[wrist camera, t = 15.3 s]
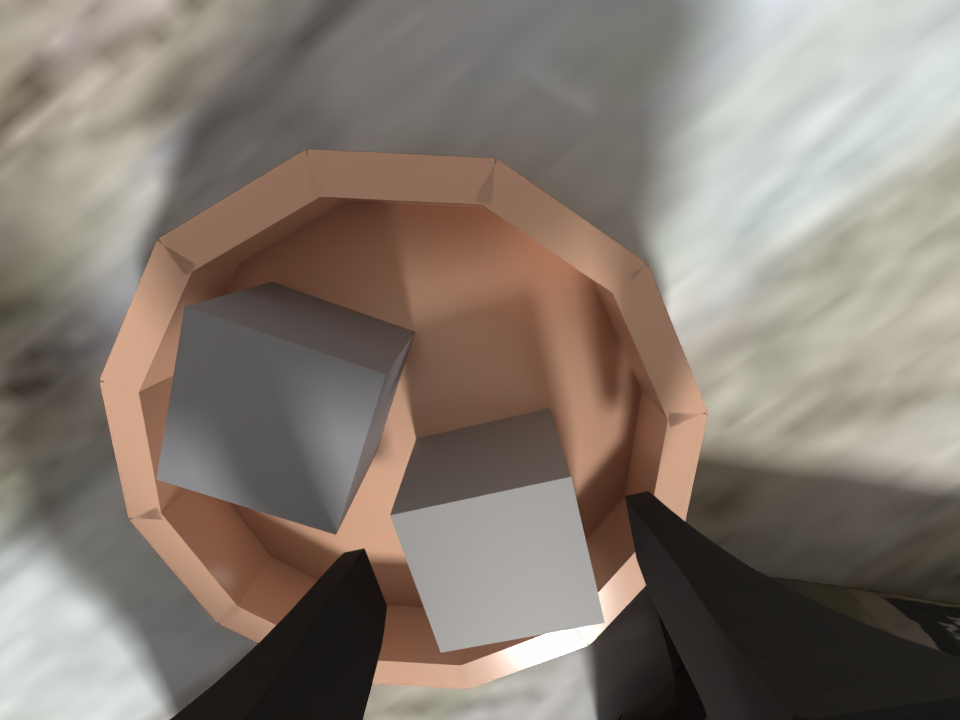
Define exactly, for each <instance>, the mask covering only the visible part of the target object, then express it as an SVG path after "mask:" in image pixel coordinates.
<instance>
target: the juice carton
mask: <svg viewBox="0 0 960 720" xmlns="http://www.w3.org/2000/svg"><path fill="white" fill-rule="evenodd" d="M770 579H772V580H774V581H776V582H777V583H779V584H781V585H783V586H785V587H787V588H789V589H791V590H793V591H795V592H796V593H798V594H801V595H803V596H805V597H807V598H809V599H811V600H813V601H815V602H817V603H819V604H822V605H824V606H826V607H828V608H830V609H832V610H835V611H837V612H839V613H841V614H844V615H846V616H848V617H851V618H853V619H855V620H858V621H860V622H863V623H865V624H868V625H870V626H873V627H875V628H878V629H880V630H883V631H885V632H888V633H890V634H893V635H896V636H898V637H901V638H904V639H907V640H910V641H913V642H916V643H919V644H922V645H925V646H928V647H931V648H934V649H936V650H939V651H942V652H945V653H948V654H951V655H954V656H957V657H960V605H959V604H950V603H941V602H934V601H928V600H923V599H918V598H911V597H905V596H901V595H896V594H890V593H881V592H872V591H866V590H859V589H852V588H846V587H839V586H832V585H823V584H817V583H809V582H804V581H801V580H789V579H777V578H770ZM657 612H658V611H657ZM658 616H659V620H660V623H661V627H662V630H663V634H664V638H665V642H666V645H667V649H668V653H669V656H670V660H671V664H672V667H673V671H674V675H675V683H676V691H677V699H678V707H679V715H680V720H709V717H708V715H707V712H706V710H705V707H704V705H703V703H702V701H701V699H700V696H699V694H698V692H697V690H696V688H695V685H694V683H693V681H692V679H691V677H690V675H689V673H688V671H687V669H686V667H685V665H684V663H683V661H682V659H681V657H680V655H679V653H678V651H677V649H676V647H675V645H674V643H673V641H672V639H671V637H670V635H669V633H668V631H667V629H666V627H665V625H664V623H663V621H662V619H661V617H660V615H659V613H658ZM621 717H622V714H621V716H620V718H619V720H621Z"/></svg>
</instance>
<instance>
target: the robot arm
mask: <svg viewBox="0 0 960 720" xmlns="http://www.w3.org/2000/svg"><path fill="white" fill-rule="evenodd" d="M625 500H626V506H627V511H628V516H629V522H630V527H631V532H632V537H633V543H634V548H635V553H636V559H637V562H638V565H639V567H640V570H641V573H642V575H643V578H644V581H645V584H646V586H647V589H648V592H649V594H650V597H651V599H652V601H653V603H654V605H655V607H656V609H657V611H658V613H659V615H660V617H661V619H662V621H663V623H664V625H665V627H666V629H667V631H668V633H669V635H670V637H671V639H672V641H673V643H674V645H675V647H676V649H677V651H678V653H679V655H680V657H681V659H682V661H683V663H684V665H685V667H686V669H687V671H688V673H689V675H690V677H691V679H692V681H693V683H694V685H695V688H696V690H697V692H698V694H699V696H700V699H701V701H702V703H703V705H704V707H705V710H706V712H707V715H708V717H709V720H960V657H957V656H954V655H951V654H948V653H945V652H942V651H939V650H936V649H934V648H931V647H928V646H925V645H922V644H919V643H916V642H913V641H910V640H907V639H904V638H901V637H898V636H896V635H893V634H890V633H888V632H885V631H883V630H880V629H878V628H875V627H873V626H870V625H868V624H865V623H863V622H860V621H858V620H855V619H853V618H851V617H848V616H846V615H844V614H841V613H839V612H837V611H835V610H832V609H830V608H828V607H826V606H824V605H822V604H819V603H817V602H815V601H813V600H811V599H809V598H807V597H805V596H803V595H801V594H798V593H796V592H795V591H793V590H791V589H789V588H787V587H785V586H783V585H781V584H779V583H777V582H776V581H774V580H772V579H770V578H768V577H767V576H765V575H763V574H761V573H760V572H758V571H756V570H754V569H753V568H751V567H750V566H748V565H746V564H745V563H743V562H742V561H740V560H738V559H737V558H735V557H734V556H732V555H731V554H729V553H728V552H726V551H725V550H723V549H722V548H720V547H719V546H718V545H716V544H715V543H713V542H712V541H711V540H709V539H708V538H706V537H705V536H704V535H702V534H701V533H700V532H698V531H697V530H696V529H694V528H693V527H692V526H690V525H689V524H688V523H687V522H685V521H684V520H683V519H682V518H680V517H679V516H678V515H677V514H675V513H674V512H673V511H672V510H671V509H669V508H668V507H667V506H666V505H665V504H663V503H662V502H661V501H660V500H659V499H658V498H657V497H655V496H654V495H653V494H652V493H650V492H649V491H647V492H642V493H637V494H632V495H627V496H625ZM386 612H387V604H386V602H385V599H384V597H383V594H382V592H381V589H380V587H379V584H378V581H377V579H376V576H375V574H374V571H373V569H372V566H371V563H370V561H369V558H368V556H367V553H366V551H365V548H364V549H359V550H354V551H349V552H344V553H343V554H342V555H341V556H340V557H339V558H338V559H337V560H336V561H335V562H334V563H333V564H332V565H331V566H330V567H329V568H328V570H327V571H326V572H325V573H324V574H323V575H322V576H321V577H320V578H319V580H318V581H317V582H316V583H315V584H314V585H313V586H312V587H311V588H310V590H309V591H308V592H307V593H306V594H305V595H304V596H303V597H302V598H301V599H300V601H299V602H298V603H297V604H296V605H295V606H294V607H293V608H292V609H291V610H290V612H289V613H288V614H287V615H286V616H285V617H284V618H283V619H282V620H281V621H280V622H279V623H278V624H277V625H276V626H275V627H274V628H273V629H272V630H271V631H270V632H269V633H268V634H267V635H266V636H265V637H264V638H263V639H262V640H261V641H260V642H259V643H258V644H257V645H256V646H255V647H254V648H253V649H252V650H251V651H250V652H249V653H248V654H247V655H246V656H245V657H244V658H243V659H242V660H241V661H240V662H239V663H237V664H236V665H235V666H234V667H233V668H232V669H231V670H230V671H228V672H227V673H226V674H225V675H224V676H223V677H222V678H221V679H219V680H218V681H217V682H216V683H215V684H214V685H212V686H211V687H210V688H209V689H208V690H206V691H205V692H204V693H203V694H201V695H200V696H199V697H198V698H196V699H195V700H194V701H193V702H191V703H190V704H189V705H188V706H187V707H185V708H184V709H183V710H182V711H180V712H179V713H178V714H177V715H175V716H174V717H173V718H172V719H170V720H363V716H364V712H365V709H366V705H367V701H368V697H369V694H370V690H371V686H372V682H373V679H374V675H375V671H376V667H377V663H378V659H379V655H380V651H381V647H382V642H383V635H384V628H385V620H386Z"/></svg>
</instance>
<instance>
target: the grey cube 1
mask: <svg viewBox="0 0 960 720" xmlns="http://www.w3.org/2000/svg"><path fill="white" fill-rule="evenodd" d="M414 334H415V331H412V330H409V329H406V328H403V327H401V326H398V325H395V324H392V323H389V322H386V321H383V320H380V319H378V318H375V317H372V316H369V315H366V314H363V313H360V312H357V311H355V310H352V309H349V308H346V307H343V306H340V305H337V304H334V303H332V302H329V301H326V300H323V299H320V298H317V297H314V296H311V295H309V294H306V293H303V292H300V291H297V290H294V289H291V288H288V287H286V286H283V285H280V284H277V283H274V282H270V283H266V284H262V285H259V286H255V287H252V288H248V289H244V290H241V291H237V292H234V293H230V294H227V295H223V296H219V297H216V298H212V299H209V300H205V301H202V302H198V303H194V304H191V305H187V306H184V312H183V319H182V325H181V331H180V337H179V343H178V349H177V356H176V362H175V368H174V374H173V380H172V386H171V392H170V399H169V405H168V411H167V417H166V423H165V429H164V435H163V442H162V448H161V454H160V460H159V466H158V472H157V479H156V480H159V481H162V482H166V483H169V484H172V485H175V486H179V487H182V488H185V489H188V490H192V491H195V492H198V493H201V494H205V495H208V496H211V497H214V498H218V499H221V500H224V501H227V502H231V503H234V504H237V505H240V506H244V507H247V508H250V509H253V510H257V511H260V512H263V513H266V514H270V515H273V516H276V517H279V518H283V519H286V520H289V521H292V522H296V523H299V524H302V525H305V526H309V527H312V528H315V529H318V530H322V531H325V532H328V533H331V534H335V535H336V534H337V532H338V530H339V528H340V526H341V524H342V522H343V520H344V518H345V516H346V514H347V512H348V510H349V508H350V506H351V504H352V502H353V500H354V498H355V495H356V493H357V491H358V489H359V487H360V485H361V483H362V481H363V479H364V477H365V475H366V473H367V471H368V469H369V467H370V465H371V463H372V461H373V459H374V457H375V455H376V452H377V449H378V446H379V443H380V440H381V436H382V433H383V430H384V427H385V424H386V421H387V418H388V415H389V412H390V408H391V405H392V402H393V399H394V396H395V393H396V390H397V387H398V384H399V380H400V377H401V374H402V371H403V368H404V365H405V362H406V359H407V356H408V352H409V349H410V346H411V343H412V340H413V337H414Z"/></svg>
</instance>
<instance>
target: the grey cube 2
mask: <svg viewBox="0 0 960 720" xmlns="http://www.w3.org/2000/svg"><path fill="white" fill-rule="evenodd" d="M390 517H391V520H392V522H393V525H394V528H395V531H396V533H397V536H398V539H399V541H400V544H401V547H402V549H403V552H404V555H405V558H406V560H407V563H408V566H409V568H410V571H411V574H412V576H413V579H414V582H415V585H416V587H417V590H418V593H419V595H420V598H421V601H422V603H423V606H424V609H425V611H426V614H427V617H428V620H429V622H430V625H431V628H432V630H433V633H434V636H435V638H436V641H437V644H438V647H439V649H440V652H441V653H442V652H448V651H453V650H459V649H464V648H470V647H476V646H481V645H487V644H492V643H498V642H503V641H509V640H514V639H520V638H525V637H531V636H536V635H542V634H547V633H553V632H558V631H564V630H569V629H575V628H580V627H586V626H591V625H597V624H602V623H605V621H604V617H603V613H602V608H601V604H600V600H599V595H598V591H597V587H596V582H595V578H594V574H593V569H592V565H591V561H590V556H589V552H588V548H587V543H586V539H585V535H584V530H583V526H582V522H581V517H580V513H579V509H578V504H577V500H576V496H575V491H574V487H573V483H572V478H571V475H570V471H569V468H568V465H567V462H566V459H565V455H564V452H563V449H562V446H561V443H560V439H559V436H558V433H557V430H556V427H555V423H554V420H553V417H552V414H551V410H550V408H549V409H544V410H540V411H536V412H531V413H527V414H522V415H518V416H514V417H509V418H505V419H501V420H496V421H492V422H488V423H483V424H479V425H474V426H470V427H466V428H461V429H457V430H453V431H448V432H444V433H440V434H435V435H431V436H426V437H422V438H418V439H416V441H415V443H414V446H413V449H412V452H411V455H410V458H409V461H408V464H407V467H406V470H405V473H404V476H403V479H402V482H401V484H400V487H399V490H398V493H397V496H396V499H395V502H394V505H393V508H392V511H391V514H390Z"/></svg>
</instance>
